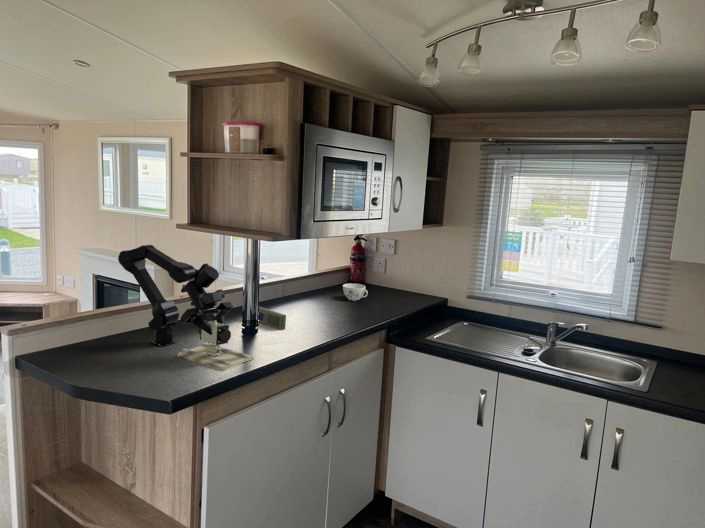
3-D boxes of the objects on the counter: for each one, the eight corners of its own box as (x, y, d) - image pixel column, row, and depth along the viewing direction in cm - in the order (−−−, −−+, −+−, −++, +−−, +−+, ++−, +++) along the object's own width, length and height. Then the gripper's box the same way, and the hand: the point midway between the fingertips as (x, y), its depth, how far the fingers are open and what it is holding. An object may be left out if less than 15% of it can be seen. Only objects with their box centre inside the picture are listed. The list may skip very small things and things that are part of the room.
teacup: (337, 299, 276) (338, 285, 275) (350, 296, 287) (351, 282, 285) (360, 304, 268) (361, 289, 267) (372, 300, 278) (373, 286, 277)
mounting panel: (177, 356, 175) (177, 350, 175) (208, 346, 187) (208, 341, 187) (224, 370, 164) (224, 364, 164) (253, 359, 176) (253, 353, 176)
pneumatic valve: (219, 359, 169) (221, 324, 168) (196, 352, 176) (198, 318, 175) (231, 357, 174) (234, 322, 173) (208, 349, 180) (211, 316, 179)
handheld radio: (280, 331, 213) (244, 318, 229) (286, 330, 215) (250, 317, 231) (281, 315, 212) (245, 303, 228) (287, 314, 214) (251, 303, 231)
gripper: (186, 285, 167) (207, 325, 162) (230, 279, 182) (250, 315, 177) (171, 304, 172) (191, 343, 168) (215, 296, 187) (235, 332, 183)
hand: (218, 332), depth 174 cm, fingers closed on pneumatic valve, 5 cm apart
